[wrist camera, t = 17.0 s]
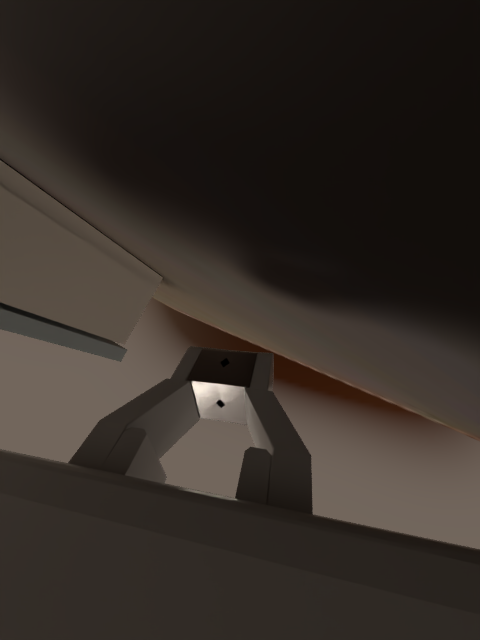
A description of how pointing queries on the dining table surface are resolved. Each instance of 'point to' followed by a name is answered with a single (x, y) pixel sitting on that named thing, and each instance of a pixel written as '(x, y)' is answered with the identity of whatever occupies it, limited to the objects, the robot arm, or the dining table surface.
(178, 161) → the dining table surface
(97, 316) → the white open box
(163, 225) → the dining table surface
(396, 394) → the dining table surface
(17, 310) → the panel
